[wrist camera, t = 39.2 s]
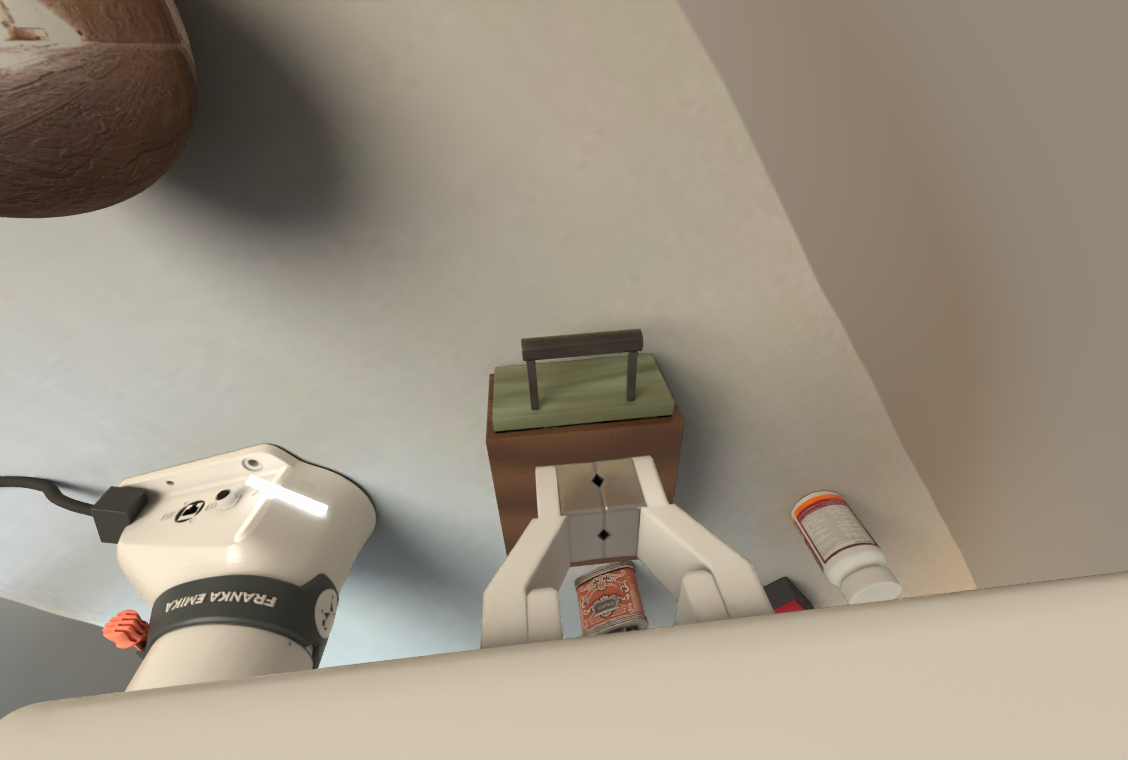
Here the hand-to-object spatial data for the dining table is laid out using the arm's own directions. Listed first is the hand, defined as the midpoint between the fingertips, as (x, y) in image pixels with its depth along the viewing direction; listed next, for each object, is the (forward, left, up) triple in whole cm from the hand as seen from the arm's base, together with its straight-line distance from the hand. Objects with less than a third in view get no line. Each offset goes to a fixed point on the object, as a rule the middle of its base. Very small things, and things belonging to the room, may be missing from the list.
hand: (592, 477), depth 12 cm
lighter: (+5, -45, -25) cm, 52 cm away
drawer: (+2, -17, -24) cm, 30 cm away
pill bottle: (+30, -36, -25) cm, 53 cm away
